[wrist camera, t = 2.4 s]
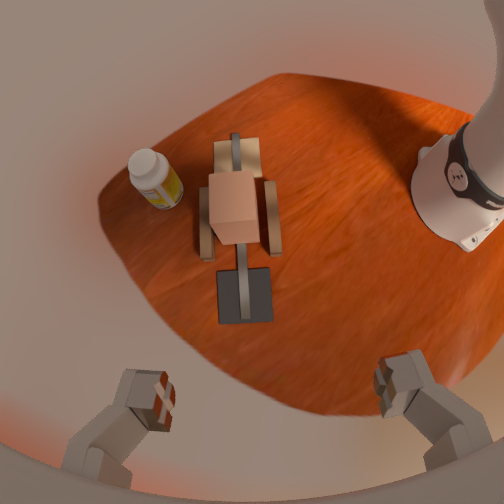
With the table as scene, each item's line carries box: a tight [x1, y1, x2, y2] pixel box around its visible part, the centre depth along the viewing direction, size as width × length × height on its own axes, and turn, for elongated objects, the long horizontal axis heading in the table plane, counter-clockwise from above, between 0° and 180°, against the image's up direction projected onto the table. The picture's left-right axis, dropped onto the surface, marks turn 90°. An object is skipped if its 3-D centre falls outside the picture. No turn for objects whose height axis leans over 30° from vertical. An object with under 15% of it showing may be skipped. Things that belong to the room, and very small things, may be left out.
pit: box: [217, 268, 273, 324], centre depth 39 cm, size 7×7×1 cm
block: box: [209, 170, 260, 245], centre depth 37 cm, size 6×5×9 cm
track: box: [199, 133, 282, 319], centre depth 41 cm, size 28×10×2 cm, turn 4°
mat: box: [214, 138, 262, 178], centre depth 44 cm, size 7×7×1 cm
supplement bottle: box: [128, 148, 184, 209], centre depth 39 cm, size 6×6×10 cm
